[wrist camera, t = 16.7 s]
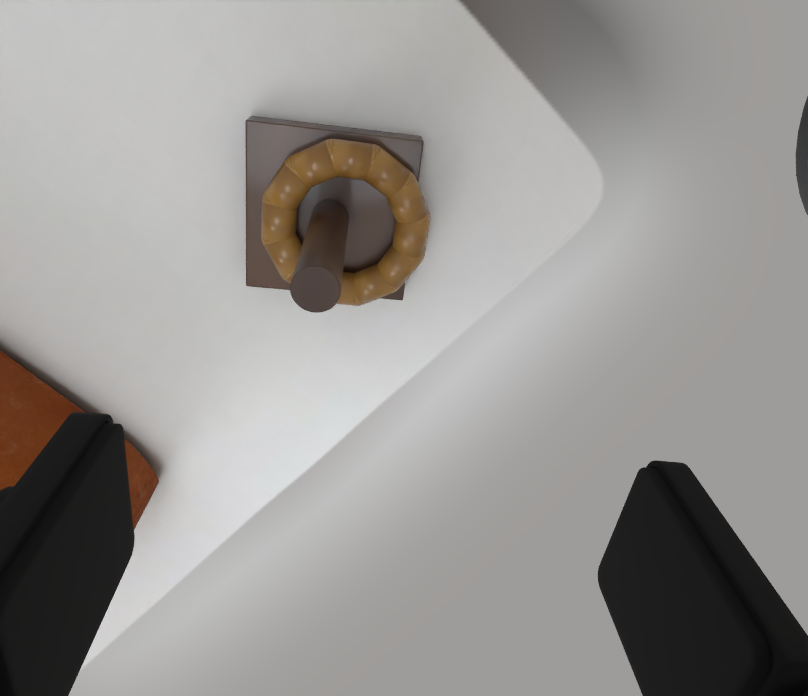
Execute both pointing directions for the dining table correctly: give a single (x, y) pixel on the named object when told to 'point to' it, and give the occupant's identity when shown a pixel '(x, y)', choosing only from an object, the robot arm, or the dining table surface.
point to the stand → (321, 211)
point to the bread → (49, 431)
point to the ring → (354, 164)
